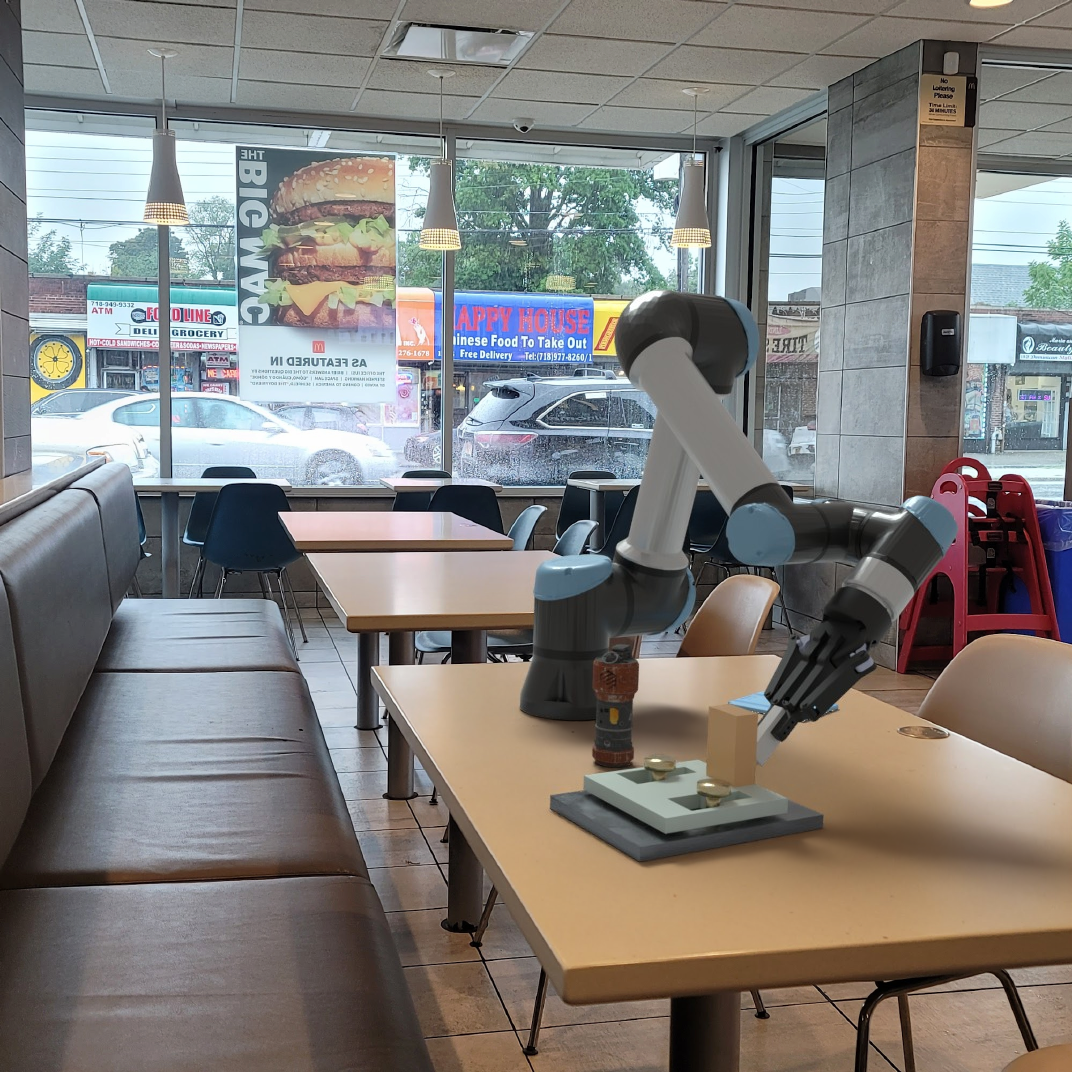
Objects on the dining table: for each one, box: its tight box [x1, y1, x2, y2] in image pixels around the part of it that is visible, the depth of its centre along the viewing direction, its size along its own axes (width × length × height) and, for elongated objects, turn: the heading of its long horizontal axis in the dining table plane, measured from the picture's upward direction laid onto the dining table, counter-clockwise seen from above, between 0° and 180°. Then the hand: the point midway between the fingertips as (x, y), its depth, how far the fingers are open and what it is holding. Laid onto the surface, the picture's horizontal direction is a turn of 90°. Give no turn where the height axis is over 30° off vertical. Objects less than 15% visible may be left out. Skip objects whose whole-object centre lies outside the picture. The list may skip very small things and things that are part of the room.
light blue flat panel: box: [727, 690, 839, 721], centre depth 182 cm, size 14×12×1 cm
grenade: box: [591, 643, 640, 768], centre depth 149 cm, size 6×8×15 cm
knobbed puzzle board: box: [582, 703, 789, 834], centre depth 127 cm, size 16×16×10 cm
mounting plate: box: [549, 754, 824, 863], centre depth 127 cm, size 18×24×5 cm
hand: (752, 757), depth 131 cm, fingers closed
